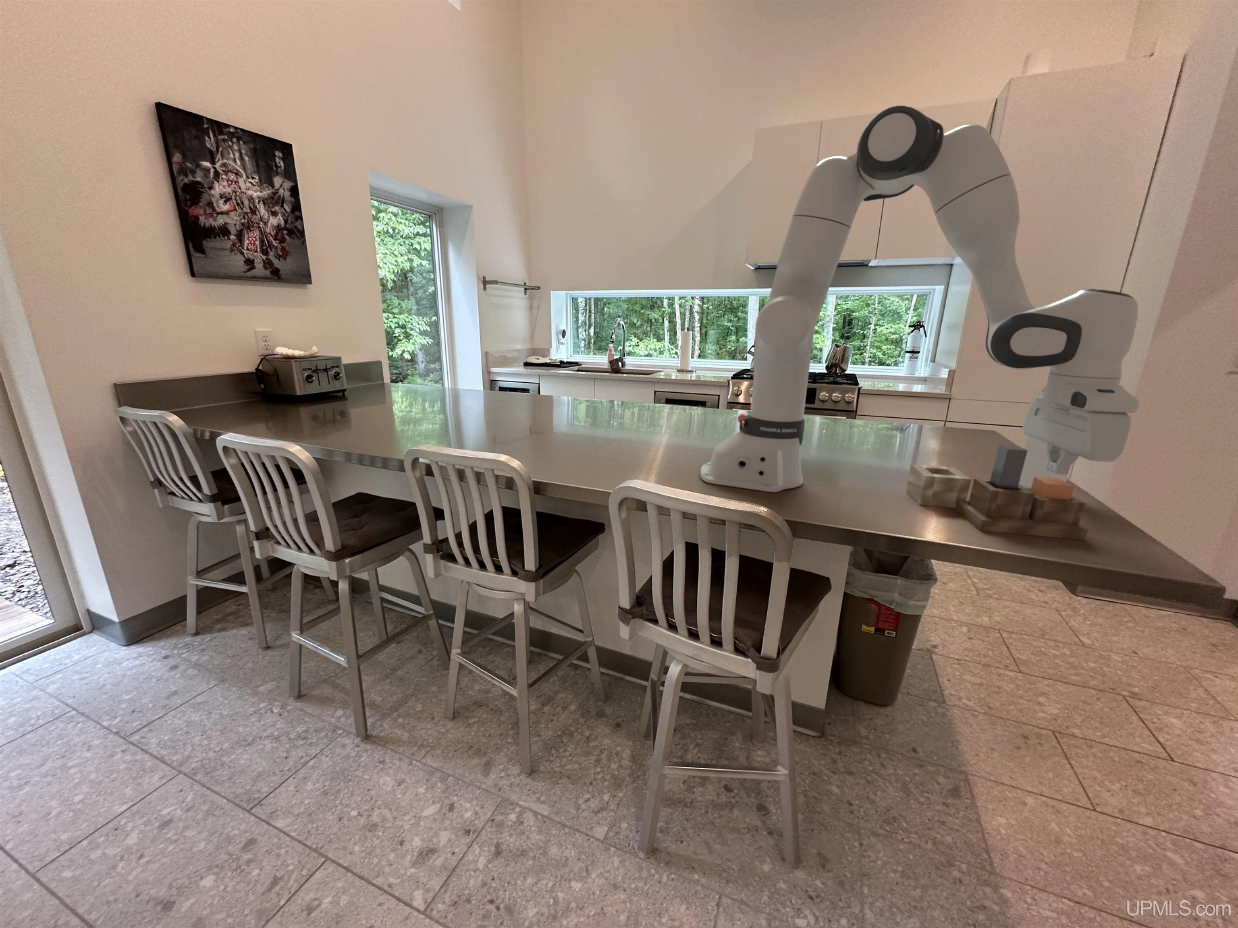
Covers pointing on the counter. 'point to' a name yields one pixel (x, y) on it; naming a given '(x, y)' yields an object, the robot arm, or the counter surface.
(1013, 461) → the steel peg
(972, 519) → the socket base
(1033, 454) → the milk
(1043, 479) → the button
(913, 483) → the beige hollow block
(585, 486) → the counter surface
